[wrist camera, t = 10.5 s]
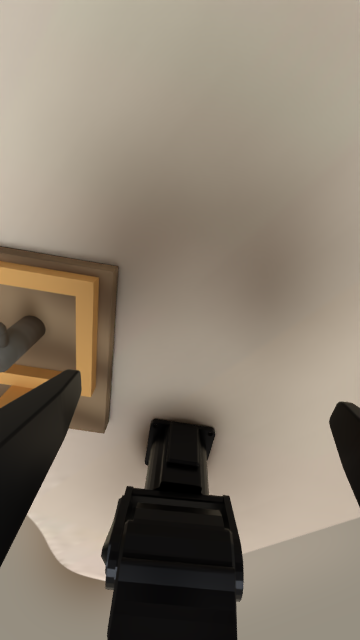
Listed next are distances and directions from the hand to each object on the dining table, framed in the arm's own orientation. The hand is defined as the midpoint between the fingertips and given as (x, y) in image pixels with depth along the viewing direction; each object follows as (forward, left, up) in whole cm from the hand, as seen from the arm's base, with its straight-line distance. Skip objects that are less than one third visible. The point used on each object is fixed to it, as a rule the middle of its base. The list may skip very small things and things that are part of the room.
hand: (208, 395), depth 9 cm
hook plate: (-8, +12, -12) cm, 19 cm away
